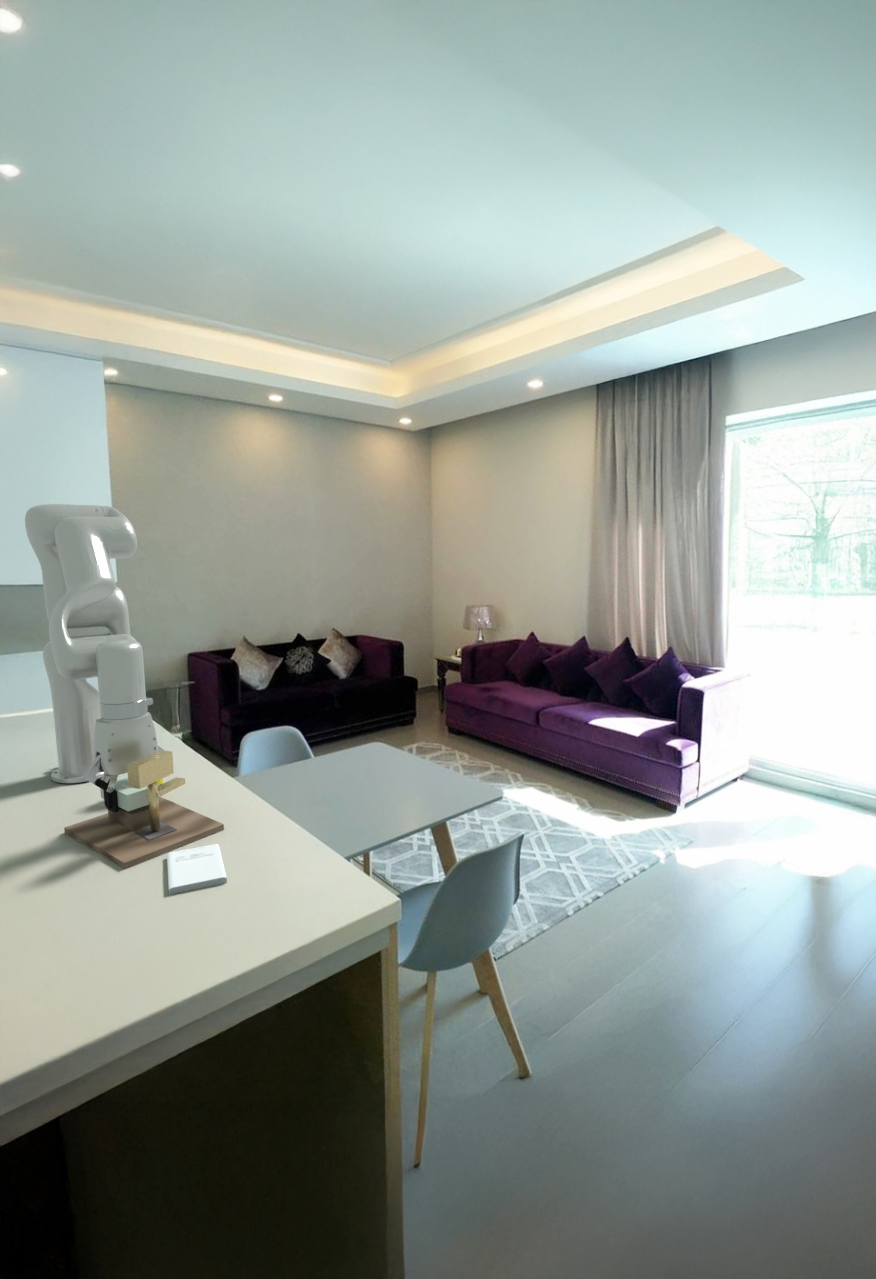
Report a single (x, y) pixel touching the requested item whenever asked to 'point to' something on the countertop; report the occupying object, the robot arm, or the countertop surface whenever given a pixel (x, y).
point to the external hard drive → (195, 868)
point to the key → (153, 780)
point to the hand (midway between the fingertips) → (131, 803)
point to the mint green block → (129, 794)
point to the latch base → (142, 832)
